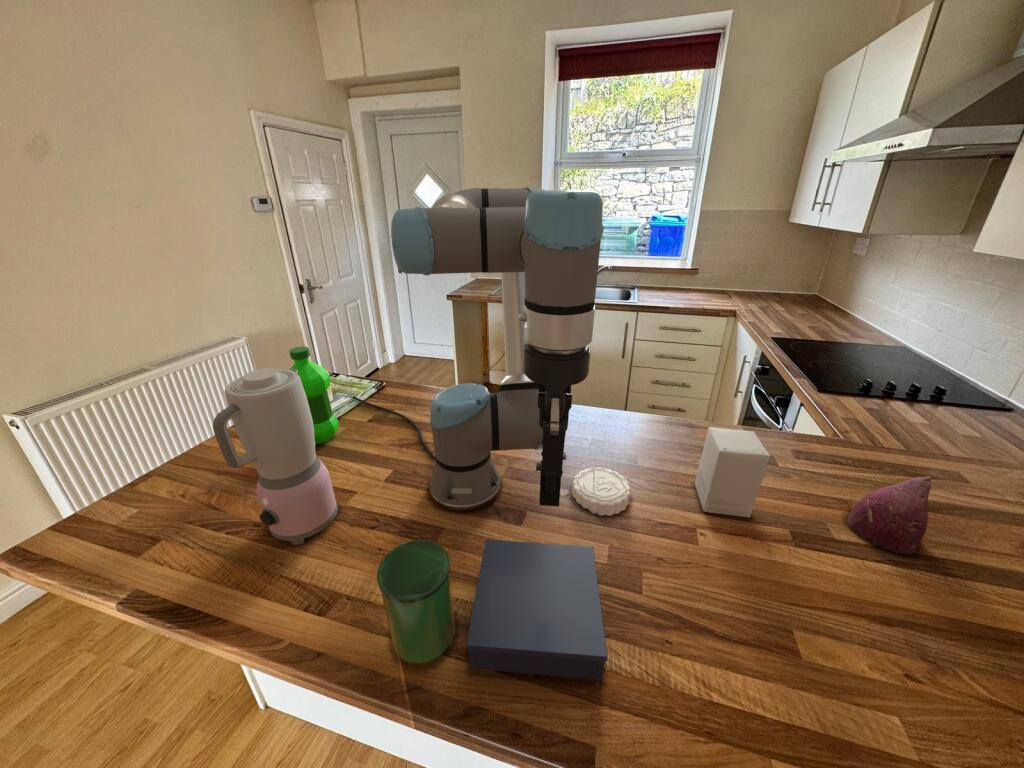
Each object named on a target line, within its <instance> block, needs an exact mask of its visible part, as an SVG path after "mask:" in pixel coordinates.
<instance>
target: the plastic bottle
mask: <svg viewBox="0 0 1024 768" xmlns="http://www.w3.org/2000/svg"><path fill="white" fill-rule="evenodd" d="M288 352H289V353H288V354H289V357H290V359H291V360H293V361H294V364H293V365H292V366H290V368H289V369H296V370H298V373H297V374H298V375H299V376H300V379H301V382H302V385H303V388H304V391H305V394H306V397H307V400H308V404H309V408H310V412H311V416H312V420H313V426H314V438H315V445H318V444H323V443H324V444H325V443H326V442H328V441H330V440H331V439H332V438H333V437H334V435H335V434H336V433H337V431H338V430H339V428H340V427H339V426H340V423H339V420H338V419H337V417H336V415H335V414H334V412H333V409H332V405H331V400H330V397H329V391H328V389H329V388H330V386H331V382H332V381H331V375H330V374H329V372H328V371H327V370H326V369H325V368H324V366H322V365H319V364H317V363H315V362H313V361H310V358H309V357H311V351H310V348H309V347H308V346H304V345H303V346H296V347H293V348H290V349H289V350H288Z"/></svg>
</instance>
